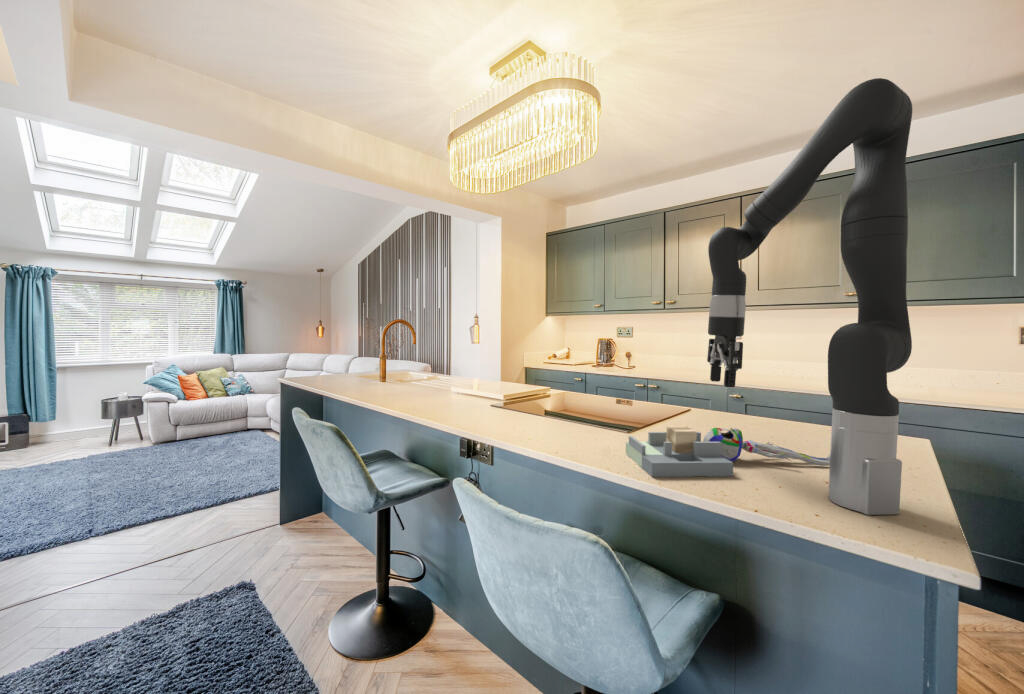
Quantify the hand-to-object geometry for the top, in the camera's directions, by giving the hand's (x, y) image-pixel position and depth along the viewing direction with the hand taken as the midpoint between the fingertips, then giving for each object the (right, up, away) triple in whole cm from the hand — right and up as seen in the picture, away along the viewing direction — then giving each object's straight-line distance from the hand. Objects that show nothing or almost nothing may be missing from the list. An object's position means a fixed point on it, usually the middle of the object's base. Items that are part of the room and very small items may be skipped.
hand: (721, 383), depth 99 cm
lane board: (-11, -19, -1) cm, 22 cm away
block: (-9, -16, +1) cm, 18 cm away
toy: (+13, -20, +2) cm, 23 cm away
